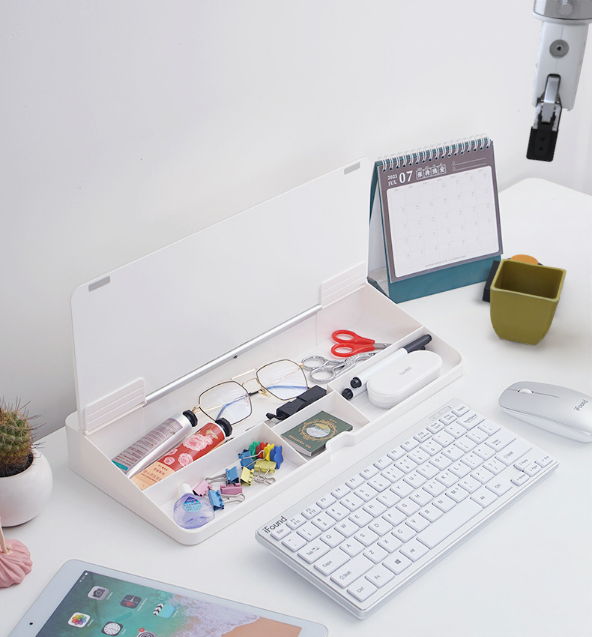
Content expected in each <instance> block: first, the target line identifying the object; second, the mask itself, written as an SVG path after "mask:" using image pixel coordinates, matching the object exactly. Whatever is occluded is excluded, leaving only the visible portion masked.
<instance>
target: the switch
mask: <svg viewBox="0 0 592 637" xmlns="http://www.w3.org/2000/svg"><path fill="white" fill-rule="evenodd" d="M507 259H511V257H508V258H507ZM500 262H501V260H495V259H493V261H492V264H491V266H490V270H489V271H488V272H489V273H488V275H487V278H486V281H485V284H484V287H483V292H482V298H481V301H482V302H486V303H490V287H491V284H492V282H493V280H494V277H495V275H496V272H497V270H498V267H499V265H500ZM538 265H543V264H542V263H541V262H539V261H538Z"/></svg>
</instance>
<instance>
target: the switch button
mask: <svg viewBox="0 0 592 637" xmlns="http://www.w3.org/2000/svg"><path fill="white" fill-rule="evenodd" d="M510 258H511V259H510V260H515V261H521V262H526V263H531V264H536V265H538V262H539V261H538V259H536V257H534V256H532V255H529V254H522V253H521V254H514V255H512V256H511V257H510Z"/></svg>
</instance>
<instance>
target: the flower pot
mask: <svg viewBox="0 0 592 637" xmlns="http://www.w3.org/2000/svg"><path fill="white" fill-rule="evenodd" d="M500 261H501V262H500V265H499V267H498V270H497V272H496V275H495V277H494V280H493V282H492V284H491V287H490V302H489V316H490V322H491V326H492V329H493V331H494V332H495V334H496V336H497V337H498V338H499V339H501V340H505V341H509V342H510V341H511V342H515V343H521V344H525V345H530V346H536V345H538V344H539V343H540V342H541V341H542V340H543V339H544V338H545V337H546V336H547V334H548V332H549V331H550V329H551V326H552V324H553V320H554V318H555V314H556V311H557V308H558V305H559V302H560V298H561V295H562V291H563V287H564V282H565V279H566V275H567V270H566V269H564V268H561V267H555V266H547V265H544V264H542V265H536V264H531V263H526V262H521V261H515V260H510V259H508V258H501V259H500Z"/></svg>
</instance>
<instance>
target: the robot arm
mask: <svg viewBox="0 0 592 637" xmlns="http://www.w3.org/2000/svg"><path fill="white" fill-rule="evenodd" d="M531 15H532V17H533V18H535V19H536V20H539V21H541V24H540V31H539V36H538V43H537V50H536V58H535V64H534V72H533V80H532V82H533V83H532V96H531V105H532V107H534V108H535V113H534V120H533V125H531V126H530V131H529V137H528V141H527V142H528V143H527V147H526V148H527V149H526V154H525V158H526V159H527V160H528V161H529V160H530V161H538V162H544V163H545V162H546V163H552V162H553V161H554V157H555V152H556V148H557V141H558V137H559V131H560V124H561V118H562V112H563V109H566V111H567V112H571V111H572V110H573V109H574V107H575V104H576V103H575V101H576V98H577V92H578V88H579V84H580V83H579V82H580V77H581V72H582V69H583V63H584V57H585V54H586V53H585V52H586V46H587V41H588V34H589V27H590V25H591V24H592V0H533V7H532V14H531Z"/></svg>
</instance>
